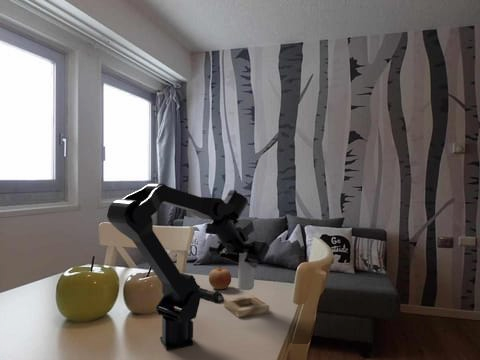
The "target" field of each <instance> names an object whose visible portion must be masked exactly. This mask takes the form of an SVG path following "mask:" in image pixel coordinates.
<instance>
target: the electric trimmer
mask: <svg viewBox="0 0 480 360" xmlns="http://www.w3.org/2000/svg"><path fill="white" fill-rule="evenodd" d="M199 290H200V292H201V296H200V298H204V299H207V300H210V301H213V302H214V303H215V304H220V303H222V302H223V303H224V300H225V297H224V295H223V294H222V293H221V292H219V291H212V290H209V289H205V288H201V287H200V288H199Z"/></svg>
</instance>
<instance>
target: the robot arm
mask: <svg viewBox="0 0 480 360" xmlns="http://www.w3.org/2000/svg"><path fill="white" fill-rule="evenodd" d="M248 203H249V200H248V199H247V197H245V195H243V194H241V193H239V192H238V191H237V190H236V189H230V190H229V191H228V193H227V195H226V197H225V198H224V199H222V198H219V197H207V196H206V197H205V196H198V195H196V194H192V193H189V192H186V191H183V190H180V189H177V188H174V187H170V186H168V185H166V184H165V183H156V182H155V183H154V182H153V183H152V182H151V183H148V184H146V185H145V186H144V187H141V188H140V189H139V190H136V191H134V192H132V193H130V194H128V195H126V196H125V197H123V198H120V199H116V200H114V201H113V202H112V203H111V204H109V207H108V210H107V214H106V218H107V220H108V221H109V223H110V224H111V225H112V226H113V227H114V228H115V229H116V230H117V231H119V232H120V233H121V234H122V235H124V236H125V237H127V238H129V239H130V240H131V241H132V242H133V243H134V245H135V246H136V248H137V250H138V251H139V252H140V254H141V255H142V256H143V258H144V259H145V261H146V262H147V263H148V265H149V266H150V268H151V269H152V271H153V272H154V274H155V275H156V277H157V278H158V279H159V281H160V282H161V284H162V285H161V286H162V287H161V288H162V289H161V291H162V292H161V293H162V295H163V296H162V297H161V299H160V300H159V301H158V304H157V305H156V307H155V311H156V313H157V315H158V316H161V319H162V320H161V321H162V322H161V323H162V324H161V336H160V337H159V340H160V342H161V343H162V345H163V346H164V347H165V350H167V351H169V350H173V349H179V348H183V347H189V346H193V345H194V341H193V339H194V322H193V319H195V318H197V314H198V310H199V306H200V303H201V297H200V296H201V292H200V290H199V288H201V285H199V284H198V283H197V281H196V279H195V277H194V276H193V274H188V273H184V272H180V271H179V269H178V267H177V266H176V264H175V262H174V261H173V259H172V258H171V256H170V255H169V253H168V251H167V250H166V248H165V247H164V245H163V244H162V242H161V240H159V238H158V236H157V235H156V233H155V231H154V229H153V228H154V226H153V225H154V222H153V221H154V220H153V217H152V216H153V215H154V214H156V213H157V212H158V210H159V208H160V206H161V204H165V205H168V206H172V207H176V208H179V209H183V210H187V211H189V212H190V213H191V214H192V215H194V216H195V217H197V218H199V219H204V220H210V222H209V223H207V224H206V228H205V231H204V232H205V234H207V235H208V234H209V235H214V238H213V240H211V243H210V244H209V246H208V252H209V253H210V254H211V255H212V256H217V257H218V256H220V258H223V259H225V260H228V261H231V262H232V263H235V264H238V265H239V254H244V252H246V254H247V255H246V258H245V260H244V262H246V263H248V264H249V265H251V266H253V267H254V268H257V267H258V265H259V264H262V263H263V262H264V260H265V258H266V256H267V254H268V252H269V250H270V245H269V243H268V242H267V241H266V240H265V241H264V240H258V239H257V240H256V239H255V240H253V241H252V242H249V243H247V242H248V241H249V239H250V237H249V235H250V234H252V232H255V226H254V223H253V222H254V221H253V220H252V219H245V218H240V217H241V215H242V213H243V212H244V211H245V208H247V205H248ZM239 218H240V219H239Z"/></svg>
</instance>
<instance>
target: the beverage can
mask: <svg viewBox="0 0 480 360" xmlns="http://www.w3.org/2000/svg"><path fill="white" fill-rule="evenodd" d="M246 255H247V254H246V252H244V254H239V264H238V275H237V276H238V277H237V278H238V279H237V280H238V282H237V287H238V289H240V290H243V291H251V290H253V289H254V287H255V272H256V271H255V268H254V267H253V266H251V265H249V264H248V263H246V262H244V260H245V258H246Z"/></svg>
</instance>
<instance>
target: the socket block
mask: <svg viewBox="0 0 480 360" xmlns="http://www.w3.org/2000/svg"><path fill="white" fill-rule="evenodd" d="M223 307H224V308H225V309H227V311H229V312H230V313H232V314H233V315H234V316H235V317H237V319H241V318H245V317H247V318H248V317H252V316H257V315H263V314H268V313H270V305H269V304H267V303H266V302H264V301H262V300H260V299H259V298H258V297H256V296H254V295H246V296H241V297H234V298H227V299H224V301H223Z"/></svg>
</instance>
